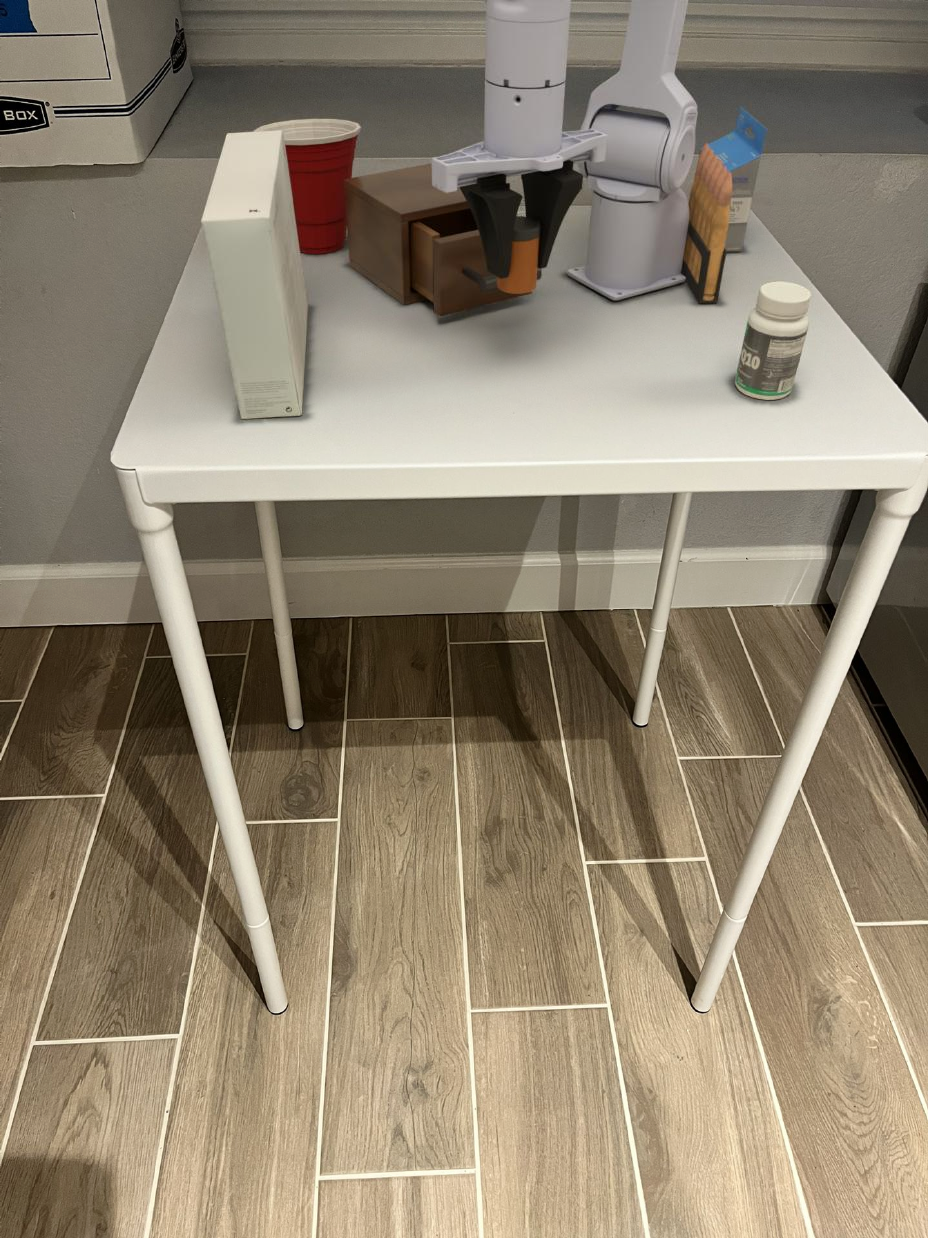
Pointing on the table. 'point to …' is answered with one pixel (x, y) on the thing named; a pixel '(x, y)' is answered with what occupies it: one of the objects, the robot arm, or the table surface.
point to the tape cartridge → (740, 172)
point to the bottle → (522, 257)
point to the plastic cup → (319, 178)
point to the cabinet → (392, 223)
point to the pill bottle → (773, 341)
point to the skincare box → (258, 273)
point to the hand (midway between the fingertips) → (516, 268)
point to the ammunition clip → (707, 227)
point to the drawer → (452, 264)
